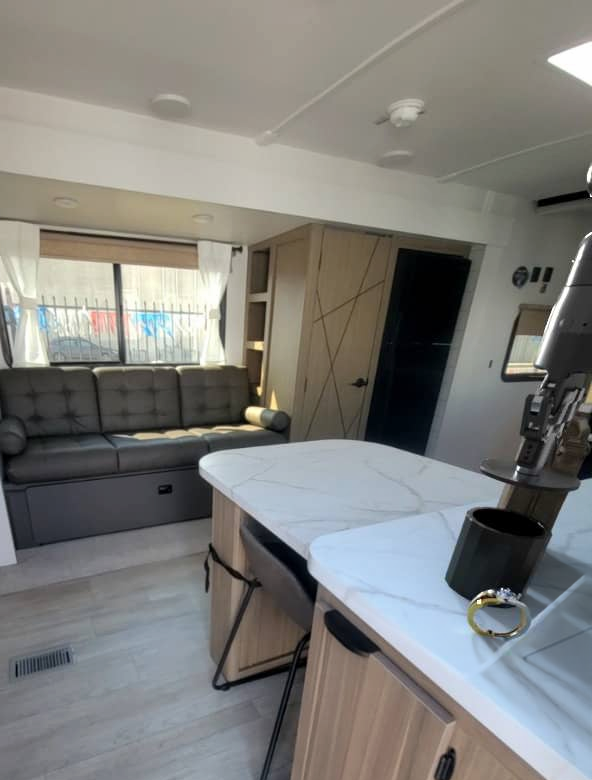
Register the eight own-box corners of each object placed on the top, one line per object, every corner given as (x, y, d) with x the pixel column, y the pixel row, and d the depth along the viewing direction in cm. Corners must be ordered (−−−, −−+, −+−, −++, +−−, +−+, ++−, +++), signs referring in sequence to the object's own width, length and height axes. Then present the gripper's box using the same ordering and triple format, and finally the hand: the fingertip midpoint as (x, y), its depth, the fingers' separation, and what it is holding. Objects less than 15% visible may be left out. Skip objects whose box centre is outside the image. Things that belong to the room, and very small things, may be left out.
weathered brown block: (487, 526, 86) (532, 408, 75) (536, 539, 82) (590, 415, 71) (476, 564, 73) (529, 426, 62) (534, 582, 68) (601, 437, 57)
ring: (460, 636, 56) (478, 589, 52) (459, 622, 58) (477, 576, 55) (520, 655, 53) (544, 606, 50) (517, 639, 56) (539, 592, 52)
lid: (498, 461, 65) (514, 416, 62) (590, 485, 56) (614, 434, 53) (461, 474, 59) (477, 425, 56) (558, 503, 50) (583, 447, 47)
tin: (463, 564, 73) (486, 501, 67) (531, 596, 65) (564, 527, 59) (431, 583, 67) (453, 516, 62) (501, 620, 59) (534, 546, 54)
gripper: (605, 330, 43) (541, 483, 50) (641, 331, 50) (581, 464, 57) (524, 328, 48) (478, 465, 56) (567, 329, 55) (521, 450, 63)
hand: (530, 464), depth 57 cm, fingers closed on lid, 3 cm apart
